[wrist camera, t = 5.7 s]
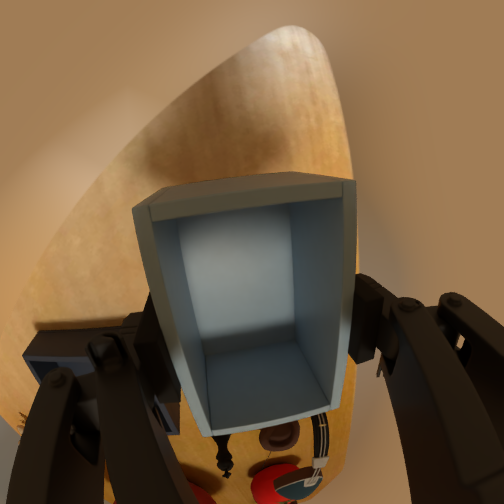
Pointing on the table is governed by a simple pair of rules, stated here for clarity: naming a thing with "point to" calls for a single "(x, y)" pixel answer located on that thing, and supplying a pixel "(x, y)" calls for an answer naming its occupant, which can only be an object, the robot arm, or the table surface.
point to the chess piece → (223, 454)
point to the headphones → (285, 438)
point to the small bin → (253, 293)
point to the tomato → (270, 484)
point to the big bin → (81, 363)
